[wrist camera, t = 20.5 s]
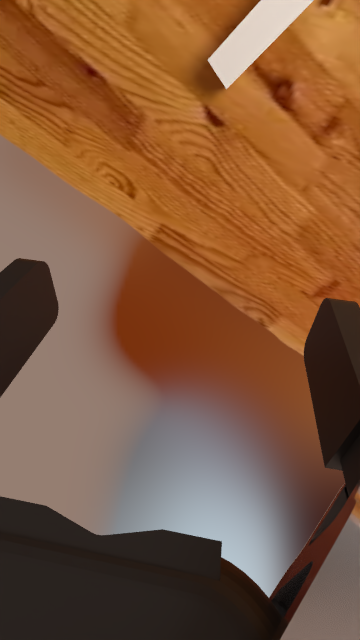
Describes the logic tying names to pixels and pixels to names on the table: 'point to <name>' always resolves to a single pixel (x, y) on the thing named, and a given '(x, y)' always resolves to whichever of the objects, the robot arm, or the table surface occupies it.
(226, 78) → the off-white bar
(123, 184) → the table surface
